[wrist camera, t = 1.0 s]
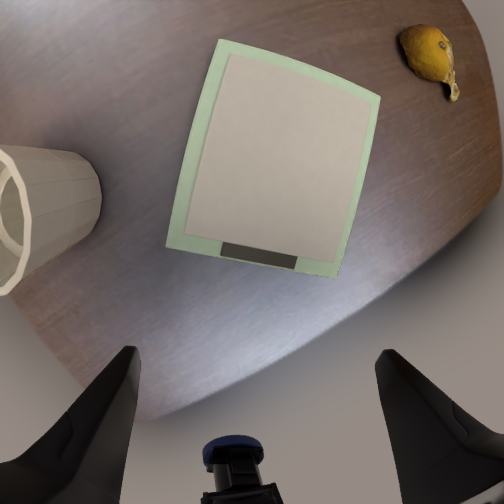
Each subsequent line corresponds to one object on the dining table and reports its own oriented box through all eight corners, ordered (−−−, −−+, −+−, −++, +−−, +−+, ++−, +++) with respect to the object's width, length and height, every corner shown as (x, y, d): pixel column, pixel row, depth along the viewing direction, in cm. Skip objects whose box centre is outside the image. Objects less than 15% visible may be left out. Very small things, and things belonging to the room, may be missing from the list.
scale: (324, 269, 23) (340, 282, 20) (168, 239, 20) (163, 250, 17) (365, 101, 20) (385, 94, 17) (216, 50, 17) (219, 34, 14)
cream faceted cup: (97, 252, 19) (32, 313, 9) (25, 235, 17) (-57, 278, 8) (112, 157, 18) (41, 147, 8) (35, 148, 16) (-54, 142, 6)
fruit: (458, 105, 21) (484, 102, 17) (401, 87, 20) (429, 79, 16) (446, 37, 19) (468, 29, 15) (387, 12, 17) (410, -2, 14)
